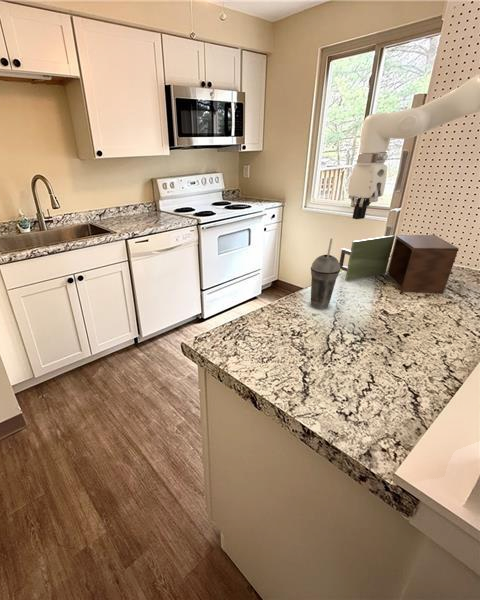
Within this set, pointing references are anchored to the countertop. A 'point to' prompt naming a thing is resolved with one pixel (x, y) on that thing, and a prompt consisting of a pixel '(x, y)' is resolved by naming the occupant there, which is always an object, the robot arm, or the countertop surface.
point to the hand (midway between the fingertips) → (358, 218)
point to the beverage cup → (323, 279)
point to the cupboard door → (367, 257)
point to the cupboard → (421, 263)
